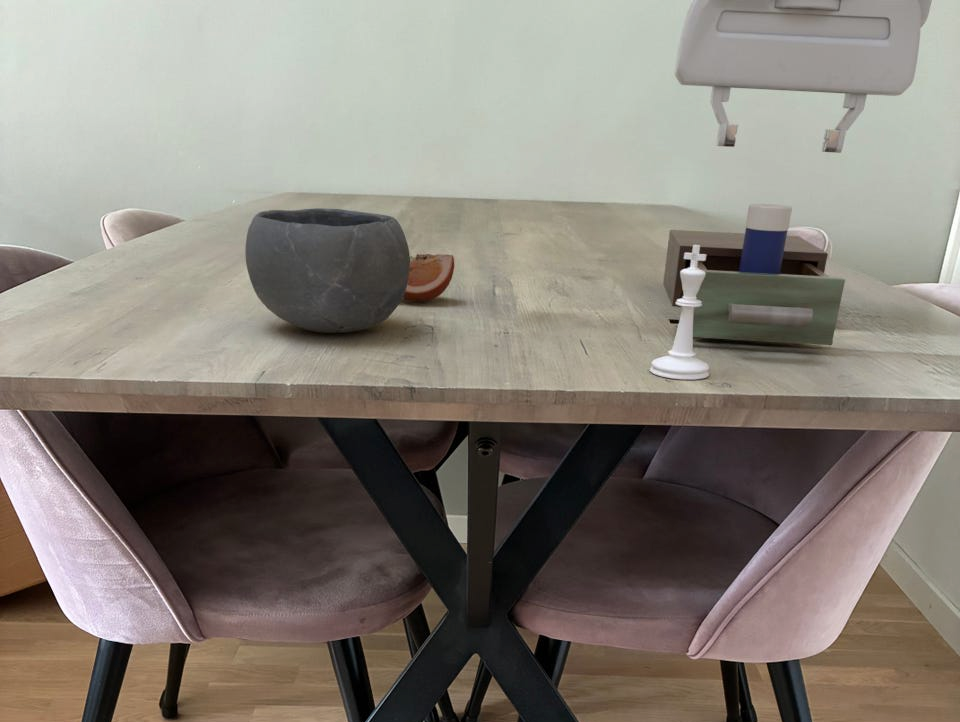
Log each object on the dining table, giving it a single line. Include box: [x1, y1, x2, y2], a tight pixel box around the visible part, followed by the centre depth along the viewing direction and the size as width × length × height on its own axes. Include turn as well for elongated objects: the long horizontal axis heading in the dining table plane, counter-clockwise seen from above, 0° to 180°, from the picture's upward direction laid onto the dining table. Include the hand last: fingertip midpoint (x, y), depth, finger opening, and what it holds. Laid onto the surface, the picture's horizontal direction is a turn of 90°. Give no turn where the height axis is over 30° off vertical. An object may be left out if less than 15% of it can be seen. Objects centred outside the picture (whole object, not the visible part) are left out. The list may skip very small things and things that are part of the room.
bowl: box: [244, 207, 411, 334], centre depth 88 cm, size 15×15×10 cm
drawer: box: [682, 255, 846, 346], centre depth 92 cm, size 19×13×6 cm
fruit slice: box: [402, 253, 455, 303], centre depth 105 cm, size 8×7×5 cm
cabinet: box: [662, 229, 829, 325], centre depth 104 cm, size 16×15×8 cm
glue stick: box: [739, 203, 793, 274], centre depth 91 cm, size 4×4×10 cm
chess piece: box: [649, 245, 710, 381], centre depth 78 cm, size 5×5×10 cm
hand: (777, 149), depth 86 cm, fingers open, 8 cm apart
